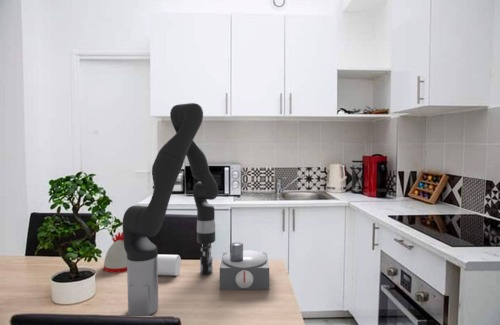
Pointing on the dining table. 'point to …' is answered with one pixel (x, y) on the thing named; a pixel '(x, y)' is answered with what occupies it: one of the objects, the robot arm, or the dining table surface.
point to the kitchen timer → (116, 256)
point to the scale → (245, 272)
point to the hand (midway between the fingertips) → (206, 270)
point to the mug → (169, 264)
